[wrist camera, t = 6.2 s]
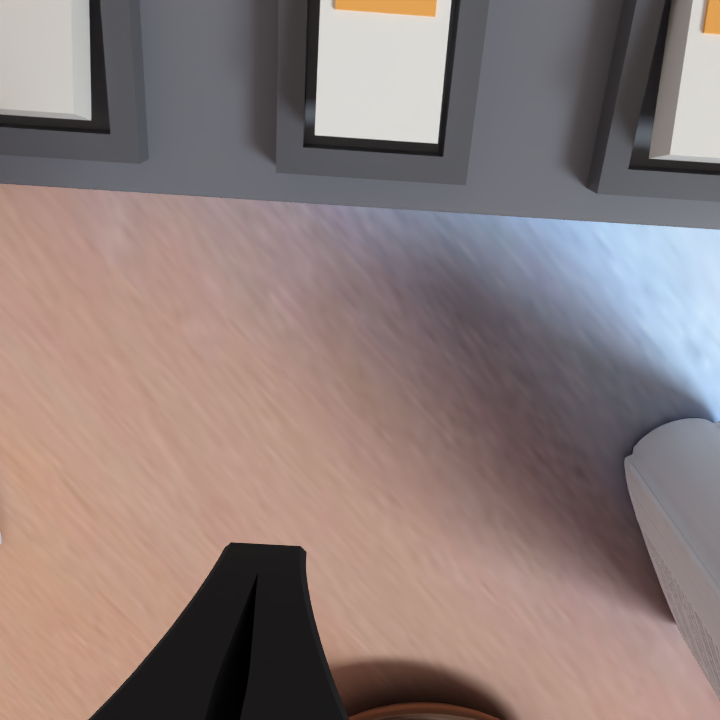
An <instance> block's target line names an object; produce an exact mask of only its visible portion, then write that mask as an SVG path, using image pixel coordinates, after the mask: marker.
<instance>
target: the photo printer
mask: <svg viewBox="0 0 720 720" xmlns="http://www.w3.org/2000/svg"><path fill="white" fill-rule="evenodd" d="M624 466H625V476H626V481H627V486H628V491H629V494H630V498H631V501H632V504H633V508H634V511H635V515H636V519H637V521H638V523H639V526H640V529H641V532H642V535H643V538H644V540H645V543H646V546H647V549H648V552H649V555H650V558H651V560H652V563H653V566H654V569H655V571H656V574H657V577H658V580H659V582H660V585H661V588H662V590H663V593H664V595H665V598H666V600H667V603H668V605H669V608H670V610H671V612H672V614H673V617H674V619H675V622H676V624H677V626H678V629H679V631H680V633H681V634H682V636H683V638H684V640H685V642H686V644H687V645H688V647H689V649H690V650H691V652H692V654H693V656H694V657H695V659H696V661H697V662H698V664H699V666H700V667H701V669H702V671H703V673H704V674H705V676H706V678H707V679H708V681H709V683H710V685H711V686H712V688H713V690H714V691H715V693H716V695H717V697H718V698H719V700H720V421H718V422H716V423H712V422H710V421H709V420H706V419H701V418H687V419H680V420H676V421H672V422H669V423H666V424H664V425H662V426H660V427H658V428H656V429H654V430H653V431H651V432H649V433H648V434H647V435H645V436H644V437H643V438H642V439H641V440H640V441H639V442H638V443H637V444H636V445H635V446H634V448H633V454H632V455H630V456H627V457H625V460H624Z"/></svg>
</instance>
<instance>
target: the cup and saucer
mask: <svg viewBox="0 0 720 720" xmlns="http://www.w3.org/2000/svg"><path fill="white" fill-rule="evenodd" d="M348 718H349V720H500V719H497V718H495V717H493V716H490V715H488V714H486V713H483V712H480V711H477V710H474V709H470V708H466V707H463V706H457V705H452V704H445V703H436V702H408V703H398V704H392V705H386V706H381V707H377V708H373V709H369V710H366V711H363V712H360V713H357V714H355V715H352V716H350V717H348Z"/></svg>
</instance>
